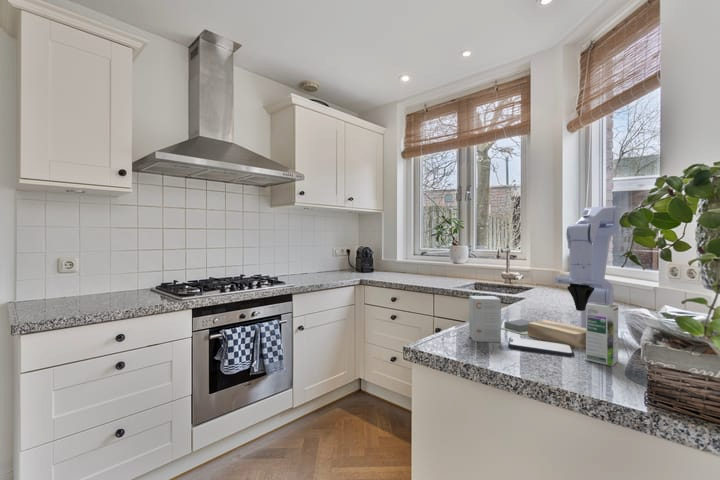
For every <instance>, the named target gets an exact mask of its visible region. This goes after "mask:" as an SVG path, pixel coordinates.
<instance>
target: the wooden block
mask: <svg viewBox="0 0 720 480" xmlns="http://www.w3.org/2000/svg"><path fill="white" fill-rule="evenodd" d="M527 336H529V337H531V338H532V337H533V338H536V339H540V340H542V341H543V340H544V341H545V342H551V343H558V344H565V345H569V346H571V347H572V349H574V350H575V349H579V348H583V347H584V348H585V347H586V328H583V327H580V326H577V325H573V324H570V323H569V324H567V323H563V322H559V321H555V320H551V319H544V320H543V319H542V320H537V321H532V322H530V323H528V334H527Z"/></svg>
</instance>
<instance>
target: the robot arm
mask: <svg viewBox="0 0 720 480" xmlns="http://www.w3.org/2000/svg"><path fill="white" fill-rule="evenodd" d="M619 219H620V220H621V209H620V206H618V205H616V204H615V205H610V206H593V207H591V206H590V207H588V206H586V207H585V208H584V209H583V212H582V217H580V218H579V219H578V221H577V222H576V223H575V224H570V225H568V226H567V228H566V232H565V233H566V240H567V248H568V249H569V261H568V262H569V273H568V274H569V277H568V276H567V277H566V276H555V277H554V284H563V285H569V286H567V290H568V292H569V294H570V295H571V297H572V300H573V303H574V306H575V310H576V311H578V312H580V315H579V316H580V319H579V321H580V323H579V324H580V326H579V327H583V328H586V304H588V303H590V302H595V303H603V304H612V305H614V302H615V301H614V297H615V296H614V293H615V292H614V291H615V288H614V286H613V284H612V283H611V282H610V281H608V280H607V279H606V278H605V276H606V270H607V262H608V257H609V251H610V250H609V248H610V242H611V240H612V239H611V238H612V236H613V235H615V234H617V233H619V232H618V231H619V229H620V224H619Z"/></svg>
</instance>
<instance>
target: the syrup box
mask: <svg viewBox="0 0 720 480" xmlns="http://www.w3.org/2000/svg"><path fill="white" fill-rule="evenodd" d="M585 361H587V362H593V363H597V364H600V365H605V366H609V367H613V366H614V365H616V364H617V363H618V361H619V304H613V305H612V304H603V303H595V302H590V303H588V304H586V346H585Z"/></svg>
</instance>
